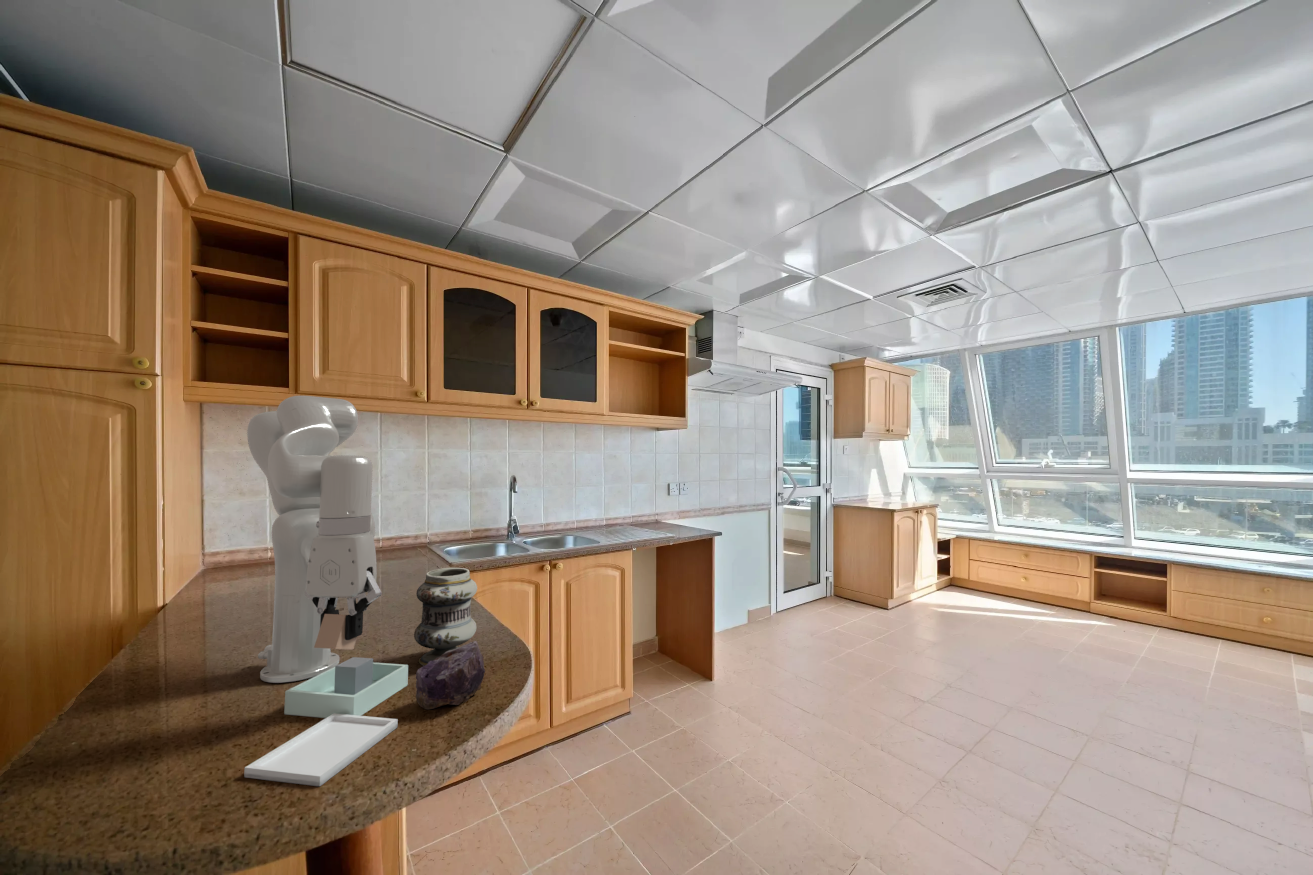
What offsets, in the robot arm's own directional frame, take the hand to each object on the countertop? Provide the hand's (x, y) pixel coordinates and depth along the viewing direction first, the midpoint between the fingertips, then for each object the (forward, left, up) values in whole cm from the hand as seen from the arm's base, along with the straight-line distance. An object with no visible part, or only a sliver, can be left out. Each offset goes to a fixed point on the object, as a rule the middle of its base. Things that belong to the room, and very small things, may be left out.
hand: (341, 635), depth 81 cm
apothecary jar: (+5, +22, -12) cm, 25 cm away
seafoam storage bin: (0, +3, -12) cm, 12 cm away
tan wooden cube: (0, -1, -2) cm, 2 cm away
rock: (+18, +5, -12) cm, 22 cm away
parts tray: (+9, -11, -12) cm, 18 cm away
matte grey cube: (0, +4, -11) cm, 11 cm away
